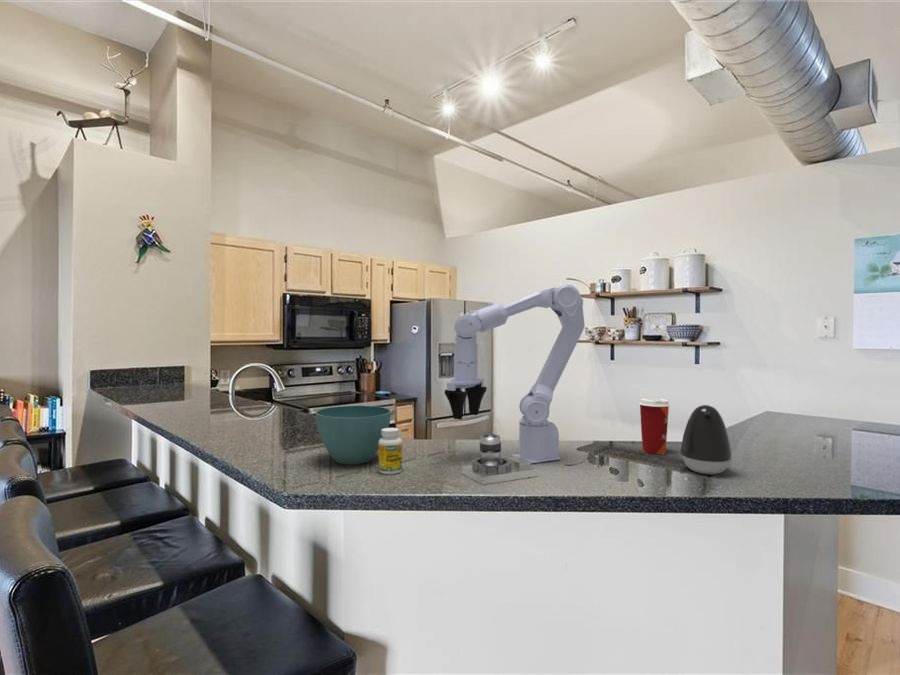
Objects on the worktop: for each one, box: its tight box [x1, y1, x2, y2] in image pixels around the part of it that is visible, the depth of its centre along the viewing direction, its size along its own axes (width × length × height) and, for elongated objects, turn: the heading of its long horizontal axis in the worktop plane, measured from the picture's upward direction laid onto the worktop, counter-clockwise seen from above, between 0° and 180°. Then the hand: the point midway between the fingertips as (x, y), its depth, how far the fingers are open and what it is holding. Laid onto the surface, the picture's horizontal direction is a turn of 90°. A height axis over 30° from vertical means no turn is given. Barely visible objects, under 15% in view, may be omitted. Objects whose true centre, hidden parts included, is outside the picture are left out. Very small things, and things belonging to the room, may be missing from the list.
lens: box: [479, 433, 502, 466], centre depth 107 cm, size 5×5×7 cm
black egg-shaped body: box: [680, 404, 732, 476], centre depth 111 cm, size 10×10×15 cm
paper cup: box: [638, 397, 671, 455], centre depth 129 cm, size 8×8×14 cm
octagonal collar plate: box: [461, 456, 539, 486], centre depth 108 cm, size 14×9×3 cm, turn 116°
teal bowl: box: [315, 405, 392, 465], centre depth 120 cm, size 18×18×12 cm
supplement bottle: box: [378, 427, 403, 475], centre depth 110 cm, size 5×5×10 cm
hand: (466, 416), depth 122 cm, fingers open, 7 cm apart
